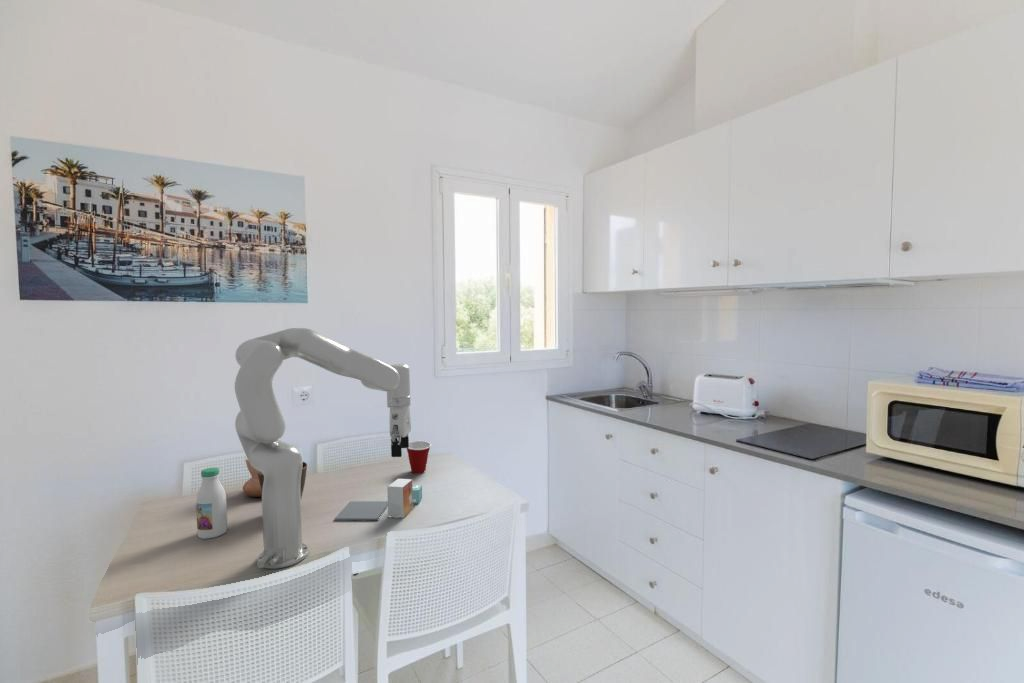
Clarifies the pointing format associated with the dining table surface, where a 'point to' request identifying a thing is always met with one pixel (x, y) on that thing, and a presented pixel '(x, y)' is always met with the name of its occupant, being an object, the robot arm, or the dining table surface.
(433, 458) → the dining table surface
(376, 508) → the slate mat
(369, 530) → the dining table surface
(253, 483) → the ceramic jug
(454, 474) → the dining table surface
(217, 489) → the milk bottle
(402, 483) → the small box
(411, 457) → the plastic cup
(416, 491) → the lettered cube
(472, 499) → the dining table surface
